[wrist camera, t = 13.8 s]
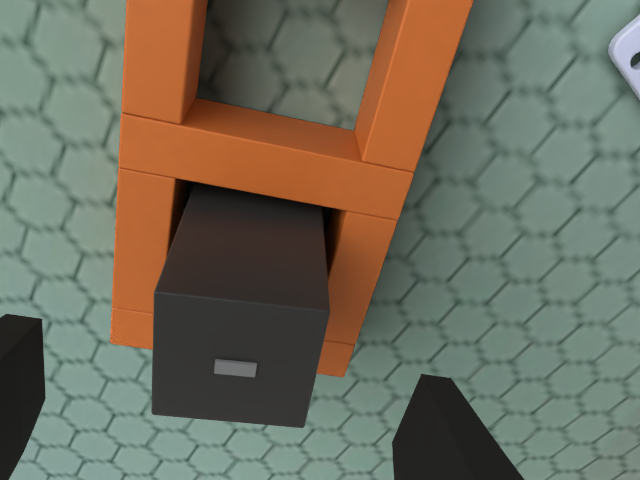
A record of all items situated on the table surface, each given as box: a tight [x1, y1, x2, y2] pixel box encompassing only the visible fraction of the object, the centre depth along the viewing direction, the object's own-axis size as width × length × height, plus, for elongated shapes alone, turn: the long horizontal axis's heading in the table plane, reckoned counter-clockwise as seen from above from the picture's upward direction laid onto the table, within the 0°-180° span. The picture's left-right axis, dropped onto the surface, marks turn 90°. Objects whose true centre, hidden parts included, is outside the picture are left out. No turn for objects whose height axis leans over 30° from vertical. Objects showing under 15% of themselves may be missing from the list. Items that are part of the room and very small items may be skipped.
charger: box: [152, 182, 330, 428], centre depth 16 cm, size 4×4×7 cm
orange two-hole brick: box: [110, 0, 474, 377], centre depth 17 cm, size 15×8×3 cm, turn 167°
